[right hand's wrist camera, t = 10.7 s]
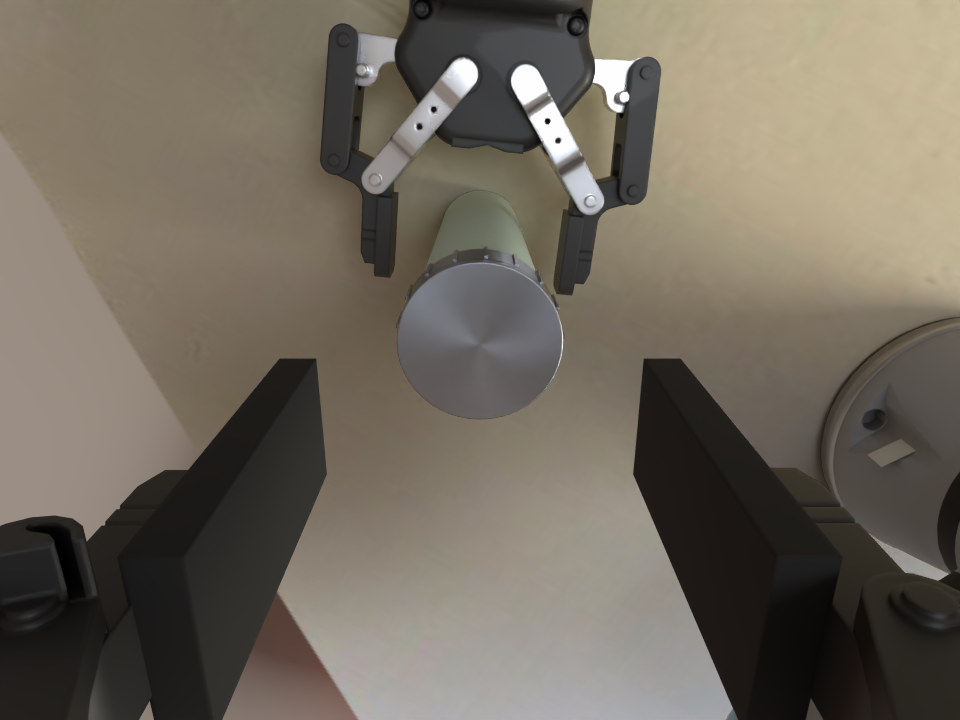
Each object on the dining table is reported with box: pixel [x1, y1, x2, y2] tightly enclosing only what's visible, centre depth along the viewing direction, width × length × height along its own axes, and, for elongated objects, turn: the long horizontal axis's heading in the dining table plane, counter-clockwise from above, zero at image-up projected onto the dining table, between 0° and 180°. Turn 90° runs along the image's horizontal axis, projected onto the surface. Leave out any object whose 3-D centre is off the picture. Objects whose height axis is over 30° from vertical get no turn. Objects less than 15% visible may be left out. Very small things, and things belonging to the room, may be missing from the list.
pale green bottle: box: [424, 190, 536, 272], centre depth 28 cm, size 4×4×19 cm
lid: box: [396, 246, 564, 419], centre depth 20 cm, size 5×5×2 cm
